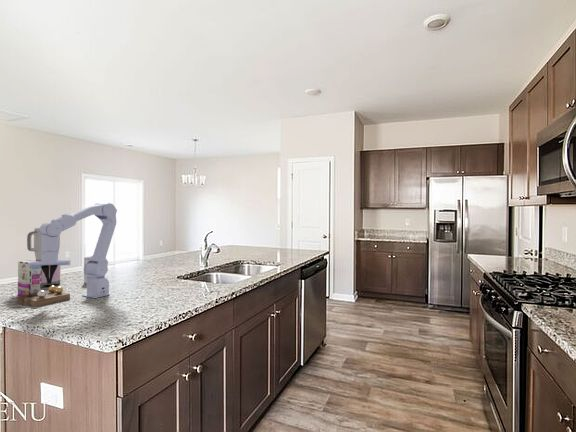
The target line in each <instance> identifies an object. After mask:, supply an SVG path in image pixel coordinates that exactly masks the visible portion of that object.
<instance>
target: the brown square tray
mask: <svg viewBox="0 0 576 432" xmlns="http://www.w3.org/2000/svg"><path fill="white" fill-rule="evenodd" d="M45 291H46V296H45V297H43V298H39V297H38V296H37V293H34V294H28V295H23V296H18V295H17V296H16V303H18V304H21V305H26V306H31V307H34V308H35V307H41V306H44V305H50V304H55V303H58V302H59V303H60V302H64V301H68V300H70V299H71V293H67V292H64V291H63V292H62V293H61V294H56V293H55V292H53V293H51V292H49V291H48V290H45Z"/></svg>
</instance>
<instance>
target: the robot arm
mask: <svg viewBox="0 0 576 432" xmlns="http://www.w3.org/2000/svg"><path fill="white" fill-rule="evenodd" d="M117 212H118V209H117V208H116V206H115V205H114V204H113V203H110V202H108V203H100V202H99V203H98V202H97V203H95V204H91V205H90V206H89V205H88V207H85V208H83V209H81V210H79V211H77V212H75V213H74V214H70V213H68V214H66V213H63V214H62V215H61V216H60V217H57V218H55V219H54V218H53V219H51V220H50V222H44V223H42V224H41V226H40V227H39V228H40V229H38V231H39V233H40V234H41V236H42V247H41V261H39V262H28V268H29V267H42V268H41V269H42V271H43V272H44V274H45V277H46V280H47V284H50V285H52V284H51V283H52V278H53V275H54V272H55V270H56V269H57V266H60V267H61V266H71V259H69V260H68V259H67V260H63V259H60V260H59V253H58V235H60V236H61V234H62V232H64V231H67V230H68V229H70V228H72V227H74V226H75V225H76V224H77V222H78V221H81V220H83V219H86V218H88V217H91V216H93V215H94V216H95V217H97V219H99V220H100V222H101V223H102V227H101V229H100V233H99V236H98V239H97V242H96V246H95V248H94V251H93V254H92V255H91V256H92V257H90V256H89V257H90V258H89V260H88V262H87V263H86V264H85V266H84V265H83V273H84V272H85V274H87V275H86V276H87V283H86V293H85V294H81V295H82V297H87V298H92V299H97V298H102V297H106V296H107V297H108V296H110V295H111V293H110V292H109V291H110V281H109V279H108V278H107V277H106V274H107V273H108V270H109V268H108V264H109V260H108V259H107V255H108V252H109V249H110V244H111V241H112V238H113V235H114V231H115V229H116V225H117ZM44 264H54V265H44ZM49 266H50V279H49Z"/></svg>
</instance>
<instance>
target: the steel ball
mask: <svg viewBox="0 0 576 432" xmlns="http://www.w3.org/2000/svg"><path fill="white" fill-rule="evenodd" d="M46 291H47V290H43V289H41V291H39V292H38V293H37V296H38V297H39V298H43V297H45V296H46Z"/></svg>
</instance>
